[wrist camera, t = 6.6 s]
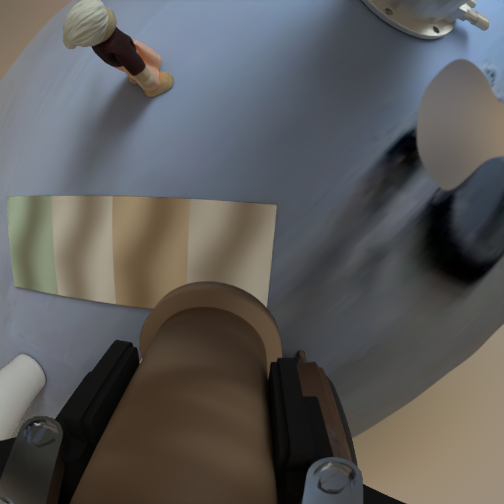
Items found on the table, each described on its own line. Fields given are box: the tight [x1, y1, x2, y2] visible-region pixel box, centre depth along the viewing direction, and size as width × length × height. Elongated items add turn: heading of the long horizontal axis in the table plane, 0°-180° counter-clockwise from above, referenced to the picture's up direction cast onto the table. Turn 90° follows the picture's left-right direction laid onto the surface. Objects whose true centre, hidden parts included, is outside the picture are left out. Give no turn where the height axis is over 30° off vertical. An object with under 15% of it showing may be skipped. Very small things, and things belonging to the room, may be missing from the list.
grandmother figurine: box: [63, 0, 174, 97], centre depth 15 cm, size 8×4×13 cm, turn 55°
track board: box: [7, 196, 277, 309], centre depth 25 cm, size 28×10×1 cm, turn 86°
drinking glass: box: [0, 354, 46, 441], centre depth 22 cm, size 7×7×15 cm
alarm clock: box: [297, 350, 358, 467], centre depth 19 cm, size 14×7×20 cm, turn 18°
